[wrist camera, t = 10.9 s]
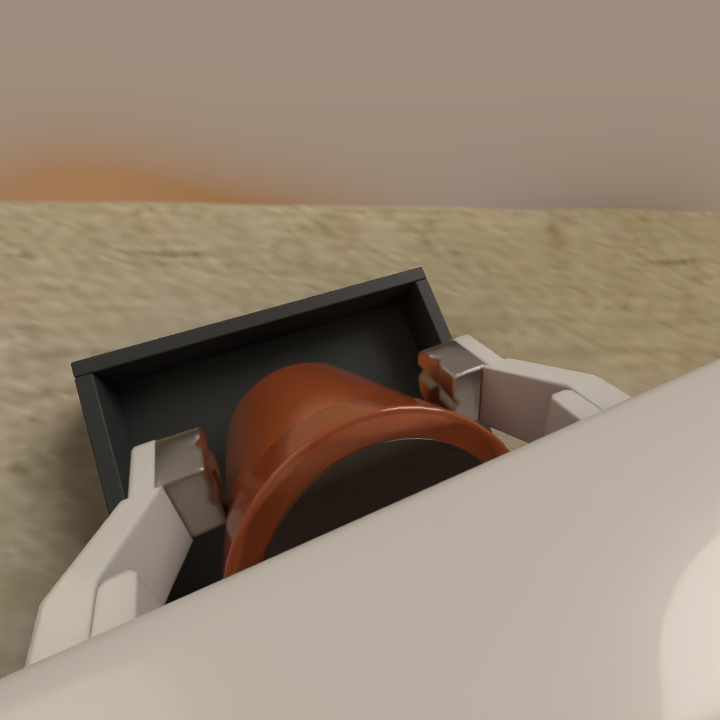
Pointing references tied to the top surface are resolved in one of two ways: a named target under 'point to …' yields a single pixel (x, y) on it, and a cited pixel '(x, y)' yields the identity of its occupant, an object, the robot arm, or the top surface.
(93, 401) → the plant tray
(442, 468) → the plant pot
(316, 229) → the top surface
